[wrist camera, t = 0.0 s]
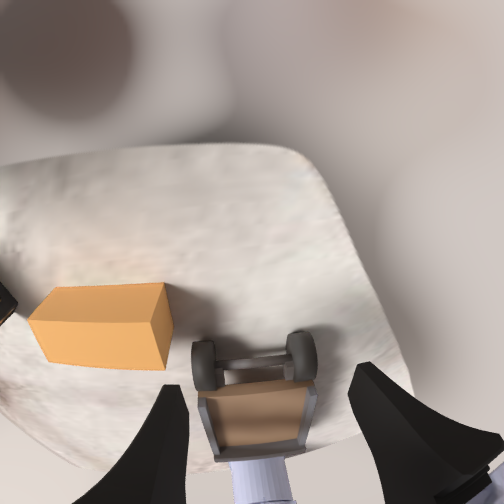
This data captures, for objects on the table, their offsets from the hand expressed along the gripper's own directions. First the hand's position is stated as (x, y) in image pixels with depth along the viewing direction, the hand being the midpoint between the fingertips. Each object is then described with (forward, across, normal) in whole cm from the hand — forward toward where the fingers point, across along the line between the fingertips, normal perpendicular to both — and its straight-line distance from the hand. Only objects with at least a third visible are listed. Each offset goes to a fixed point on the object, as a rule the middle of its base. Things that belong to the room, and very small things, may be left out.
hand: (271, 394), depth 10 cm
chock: (+10, +11, +2) cm, 15 cm away
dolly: (+10, 0, +13) cm, 17 cm away
